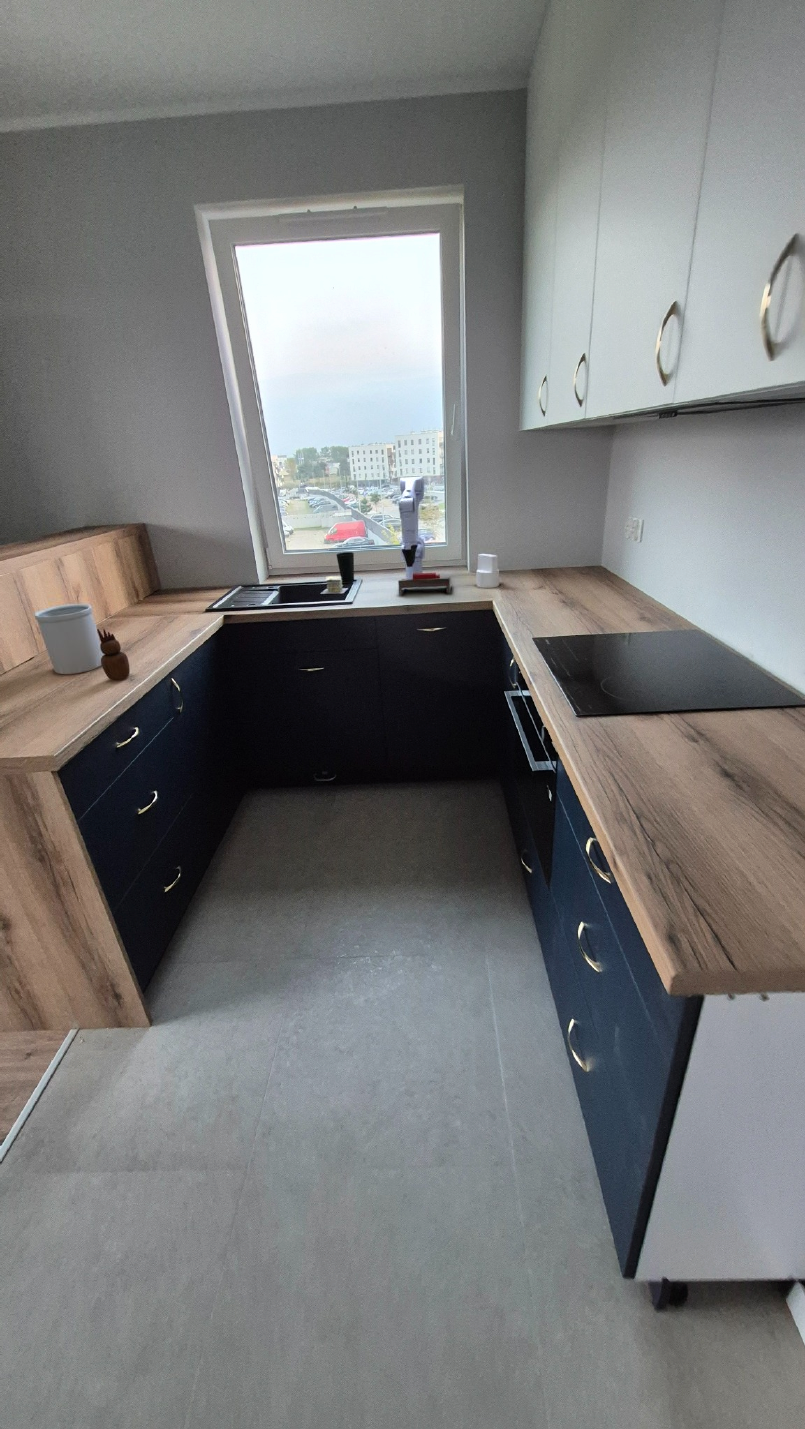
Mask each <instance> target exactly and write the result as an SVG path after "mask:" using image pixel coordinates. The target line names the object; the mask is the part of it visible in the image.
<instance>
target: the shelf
mask: <svg viewBox="0 0 805 1429" xmlns="http://www.w3.org/2000/svg"><path fill="white" fill-rule="evenodd" d="M451 580H452V579H451V576H443V577H441V576H440V578H438V579H415V580H413V579H406V578H401V579H399V580H398V581H397V582H398V583H397V584H398V596H399V597H402V596H403V595H404V593H405V590H406V589H414V588H417V589H418V588H440V587H441V588H442V587H443V588H444V587H446V595H450V594H451V588H452V581H451Z"/></svg>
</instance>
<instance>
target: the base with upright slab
mask: <svg viewBox="0 0 805 1429" xmlns="http://www.w3.org/2000/svg"><path fill="white" fill-rule="evenodd" d="M498 561H499V555H498V554H497V555H496V554H490V553H478V554H477V570H476V587H477V588H483V589H491V588H495V587H498V586H500V569H499V562H498Z"/></svg>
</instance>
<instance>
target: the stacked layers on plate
mask: <svg viewBox="0 0 805 1429" xmlns="http://www.w3.org/2000/svg"><path fill="white" fill-rule="evenodd" d="M325 581H326V582H325V583H326V584H327V585H326V588H325V589H324V590H323V591H321V592H320V594H321V595H322V594H323V595H326V594H333V595H335V594H344V593H345V592H346V591H348V590H349V587H347V588H346V587H343V586H344V585H343V582H342V580H341V576H326V577H325Z"/></svg>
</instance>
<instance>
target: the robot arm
mask: <svg viewBox="0 0 805 1429" xmlns="http://www.w3.org/2000/svg"><path fill="white" fill-rule="evenodd" d="M399 488H400V493H401V498H400V499H398V511H399V518H400V527H401V541H399V545H401V546H400V556H401V560H402V561H404V563H405V579H413V574H415V573H424V572H423V570H424V569H423V560H424V559H425V558H426V545H425V541H424V539H423V538H422V537H420V536H419V508H420V502H421V501H422V500H424V496H425V480H424V477H423V476H422V475H420V476H409V477H400V480H399Z"/></svg>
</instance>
